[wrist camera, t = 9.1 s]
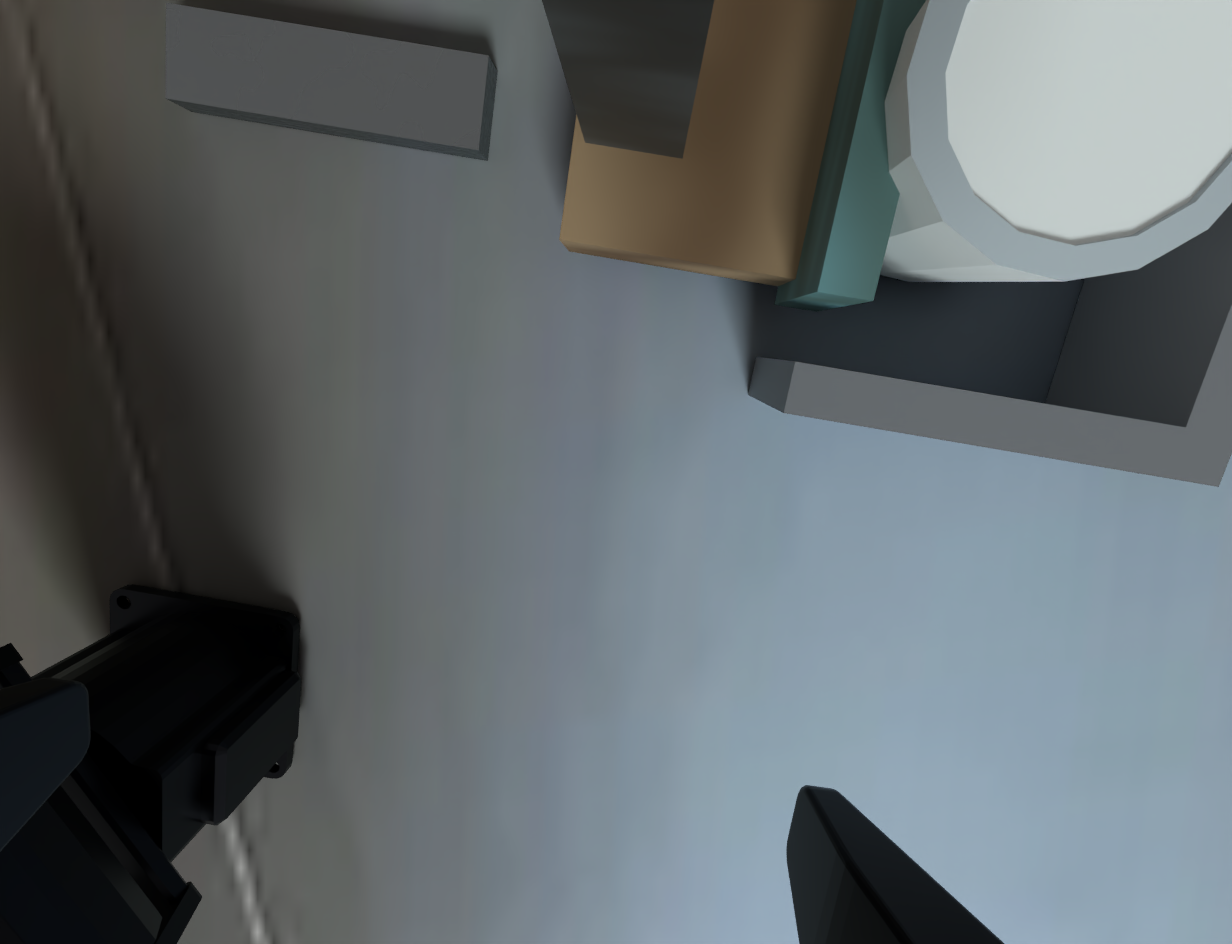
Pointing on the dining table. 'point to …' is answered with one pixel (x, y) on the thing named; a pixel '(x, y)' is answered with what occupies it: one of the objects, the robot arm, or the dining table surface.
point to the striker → (734, 138)
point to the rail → (330, 81)
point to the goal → (1078, 378)
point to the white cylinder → (1056, 136)
